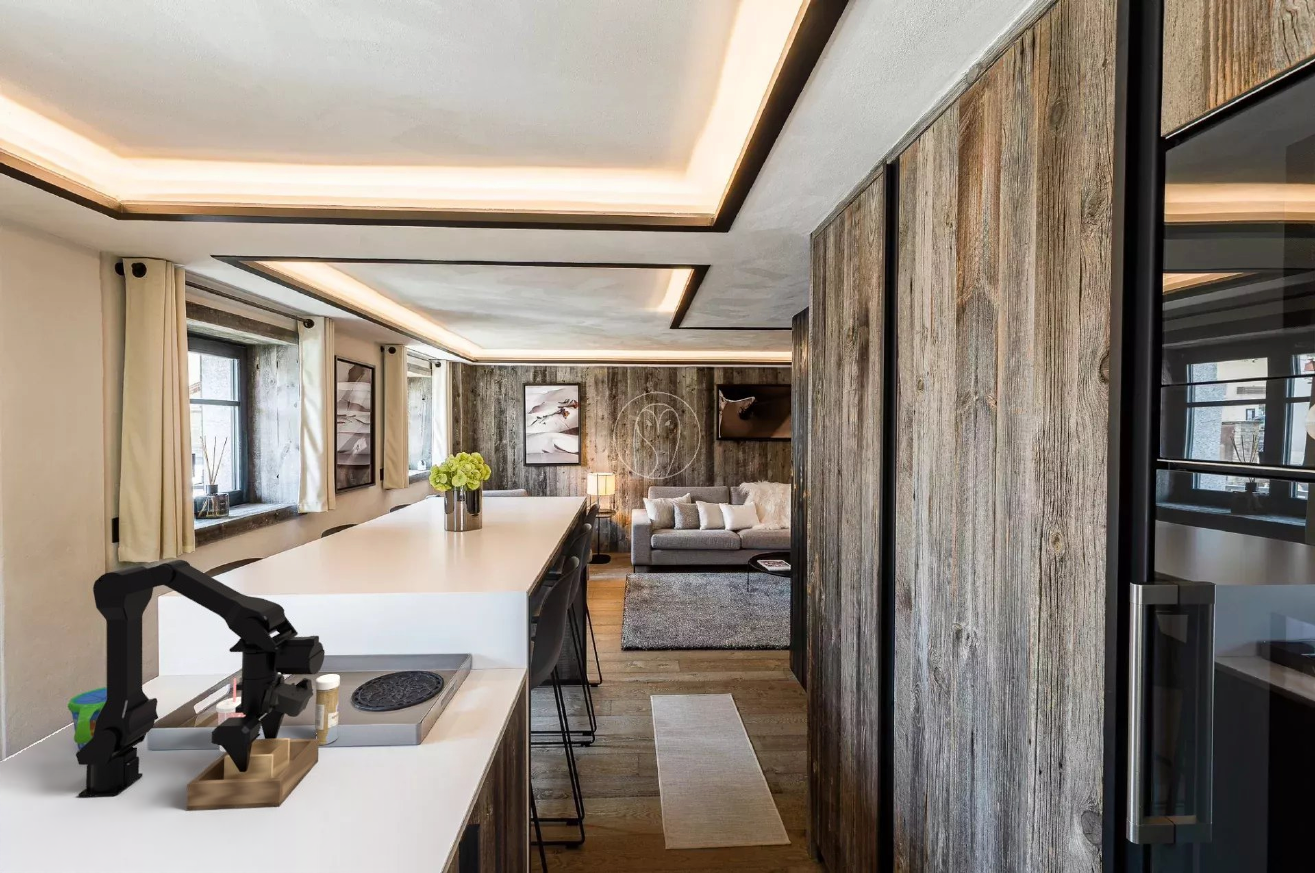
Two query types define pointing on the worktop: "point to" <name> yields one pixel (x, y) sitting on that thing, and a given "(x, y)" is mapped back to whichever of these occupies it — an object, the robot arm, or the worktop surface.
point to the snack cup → (86, 713)
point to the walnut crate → (251, 782)
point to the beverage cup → (228, 708)
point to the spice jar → (326, 705)
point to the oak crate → (261, 760)
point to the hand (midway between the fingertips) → (257, 758)
